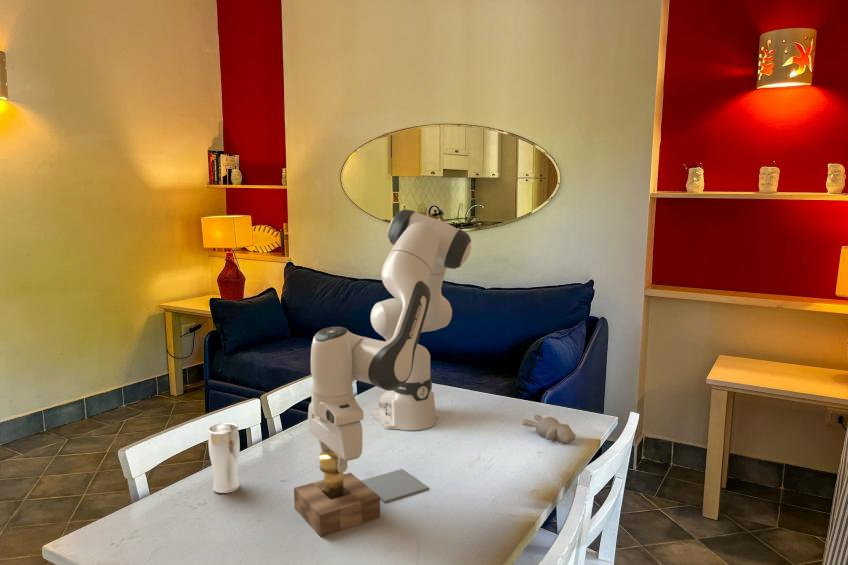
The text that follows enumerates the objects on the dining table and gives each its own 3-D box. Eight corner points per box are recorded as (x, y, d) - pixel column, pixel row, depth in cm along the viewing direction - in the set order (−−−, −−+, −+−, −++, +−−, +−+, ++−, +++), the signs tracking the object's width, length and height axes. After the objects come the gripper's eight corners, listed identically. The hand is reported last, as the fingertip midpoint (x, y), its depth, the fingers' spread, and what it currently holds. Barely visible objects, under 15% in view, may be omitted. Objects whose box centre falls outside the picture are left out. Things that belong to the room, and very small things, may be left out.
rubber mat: (360, 482, 151) (360, 480, 151) (402, 470, 158) (402, 468, 158) (384, 502, 141) (384, 500, 141) (428, 489, 148) (428, 487, 148)
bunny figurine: (561, 435, 171) (519, 414, 182) (559, 452, 172) (517, 430, 183) (582, 427, 177) (540, 407, 188) (579, 443, 178) (538, 423, 189)
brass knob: (315, 487, 137) (314, 452, 136) (340, 480, 141) (339, 446, 139) (327, 498, 132) (326, 462, 131) (352, 491, 136) (352, 456, 134)
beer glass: (247, 484, 151) (244, 424, 149) (229, 497, 144) (226, 435, 142) (223, 479, 153) (220, 421, 151) (204, 492, 146) (201, 431, 144)
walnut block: (294, 508, 139) (293, 487, 138) (351, 491, 147) (350, 472, 146) (320, 536, 128) (319, 514, 127) (380, 517, 135) (380, 496, 134)
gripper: (300, 392, 141) (301, 451, 143) (339, 421, 124) (340, 486, 126) (325, 388, 144) (327, 445, 146) (367, 414, 127) (368, 478, 129)
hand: (333, 464), depth 136 cm, fingers closed on brass knob, 6 cm apart
